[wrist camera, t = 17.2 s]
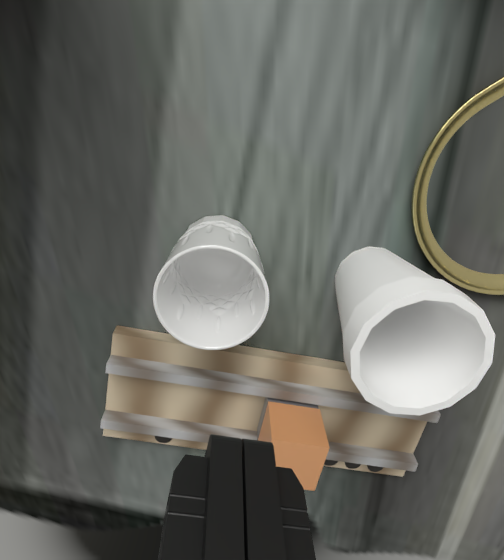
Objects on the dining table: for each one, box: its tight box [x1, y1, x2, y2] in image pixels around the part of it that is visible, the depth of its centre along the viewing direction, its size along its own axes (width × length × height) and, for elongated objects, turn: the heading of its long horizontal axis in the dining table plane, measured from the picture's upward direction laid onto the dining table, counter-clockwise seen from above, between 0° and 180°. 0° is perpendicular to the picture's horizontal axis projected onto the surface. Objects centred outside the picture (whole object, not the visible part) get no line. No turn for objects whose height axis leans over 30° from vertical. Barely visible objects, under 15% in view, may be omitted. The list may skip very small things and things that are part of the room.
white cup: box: [153, 215, 269, 350], centre depth 35 cm, size 8×8×10 cm
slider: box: [257, 397, 330, 491], centre depth 42 cm, size 5×5×7 cm
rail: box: [100, 325, 441, 477], centre depth 45 cm, size 32×12×3 cm, turn 78°
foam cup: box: [335, 247, 495, 416], centre depth 35 cm, size 10×9×13 cm
